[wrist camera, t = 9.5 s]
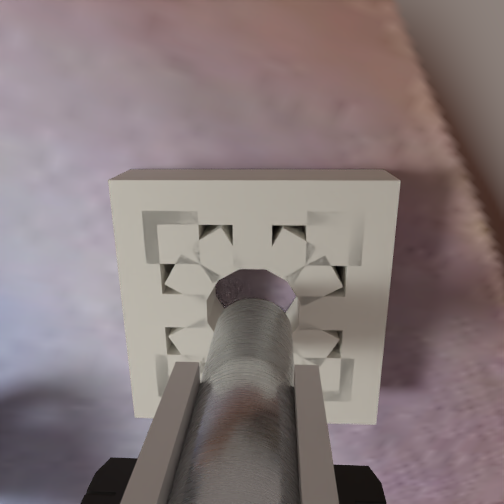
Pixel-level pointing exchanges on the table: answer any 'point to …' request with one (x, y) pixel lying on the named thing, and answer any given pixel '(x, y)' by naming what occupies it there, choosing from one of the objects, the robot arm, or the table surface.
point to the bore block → (257, 257)
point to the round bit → (243, 414)
